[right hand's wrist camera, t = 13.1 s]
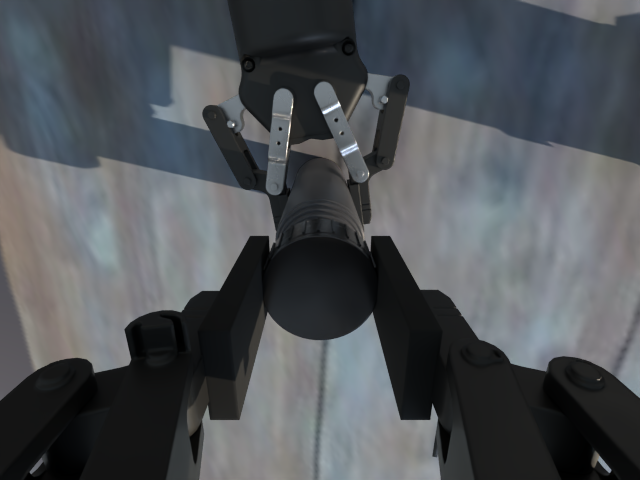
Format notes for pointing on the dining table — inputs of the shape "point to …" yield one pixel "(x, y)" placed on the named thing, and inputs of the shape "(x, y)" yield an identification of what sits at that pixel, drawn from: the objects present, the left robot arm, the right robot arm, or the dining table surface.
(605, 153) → the dining table surface
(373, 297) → the cap
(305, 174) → the bottle
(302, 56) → the left robot arm
